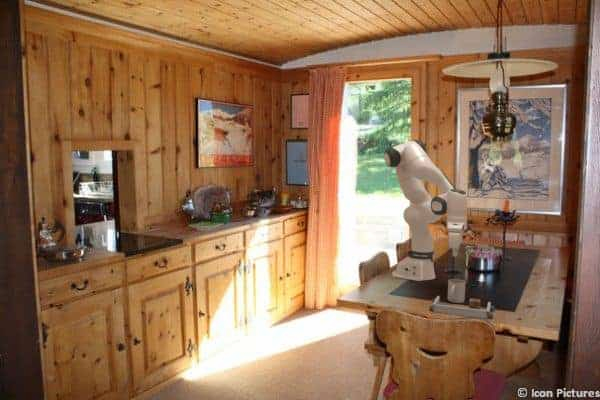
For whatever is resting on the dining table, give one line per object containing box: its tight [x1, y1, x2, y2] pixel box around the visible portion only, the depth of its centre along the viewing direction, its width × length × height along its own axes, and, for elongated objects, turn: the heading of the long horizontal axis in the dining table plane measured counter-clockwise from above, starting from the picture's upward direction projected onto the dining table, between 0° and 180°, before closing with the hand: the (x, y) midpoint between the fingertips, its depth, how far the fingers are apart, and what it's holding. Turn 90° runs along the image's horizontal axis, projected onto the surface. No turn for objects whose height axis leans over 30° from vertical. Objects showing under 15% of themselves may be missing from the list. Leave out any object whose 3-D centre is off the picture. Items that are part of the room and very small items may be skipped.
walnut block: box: [468, 297, 481, 310], centre depth 208 cm, size 4×4×5 cm
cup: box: [447, 278, 466, 304], centre depth 221 cm, size 7×10×9 cm
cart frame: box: [428, 295, 495, 320], centre depth 210 cm, size 25×13×3 cm, turn 66°
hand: (455, 254), depth 229 cm, fingers open, 4 cm apart
